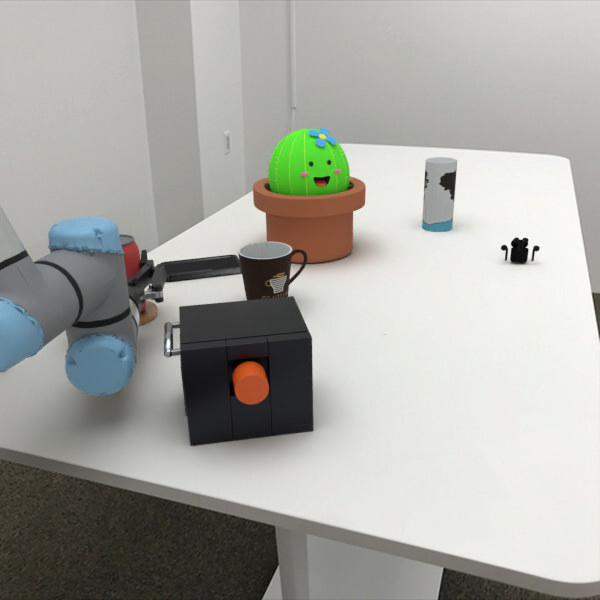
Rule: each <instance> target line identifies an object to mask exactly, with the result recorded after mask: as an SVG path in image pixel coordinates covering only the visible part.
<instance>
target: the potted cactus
mask: <svg viewBox="0 0 600 600" xmlns="http://www.w3.org/2000/svg"><path fill="white" fill-rule="evenodd" d="M315 127H316V126H314V127H313V128H309V127H308V128H307V127H306V125H303V128H302V127H300V128H299V129H297V130H296V129H295V128H294V130H293V131H291V130H289V131H288V133H287V135H286V136H284V137H283V138H282V137H280V139H278V141H279V142H278V143H277V145H276V146H273V152H272V153H271V156H270V160H269V161H268V162H269V163H268V169H267V172H265V174H266V175H265V177H263V178H262V179H259V180H257V181H255V182H254V183H253V185H252V198H253V199H252V200H253V206H254V207H255V208H256V209H257V210H258V211H260V212H262V213H264V214H265V228H266V229H265V230H266V242H280V243H285V244H287V245H289V246H291V247H292V251H293V250H296V249H300V250H303V251H305V252H306V254H307V264H315V263H324V262H331V261H336V260H339V259H342V258H345V257H346V256H348V255H349V254H351V253H352V251H353V248H354V212H356V211H358V210H360V209H362V208H364V206H365V205H366V183H365V182H364V181H362V180H361V179H360V178H357V177H354V176H350V175H351V172H352V170H351V169H350V164H349V161H348V158H347V156H346V153H345V152H346V151H347V149H346V150H344V149H343V148H342V146H341V145H342V144H339V142H338V141H337V139H336V138H335V137H333V136H331V135H330V134H329V133H330V130H328V129H327V128H324V127H319V126H317V127H316V128H315ZM303 262H304V256H303V254H302V253H296V254H294V255H293V256H292V259H291V263H294V264H295V263H296V264H303Z"/></svg>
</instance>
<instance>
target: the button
mask: <svg viewBox="0 0 600 600" xmlns="http://www.w3.org/2000/svg"><path fill="white" fill-rule="evenodd" d="M233 384H234V390H235V394H236V397H237V398H238V399H239V400H240V401H241V402H243V403H245V404H257V403H259V402H261V401H263V400H264V399H265V398H266V396H267V395H268V392H269V384H268V380H267V377H266V373H265V370H264V368H263V367H262V366H261V365H260V364H259V363H257V362H253V361H248V362H244V363H241V364H240V365H238V366H237V367H236V368H235V370H234V372H233Z"/></svg>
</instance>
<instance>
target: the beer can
mask: <svg viewBox="0 0 600 600" xmlns="http://www.w3.org/2000/svg"><path fill="white" fill-rule="evenodd" d="M119 236H120V240H121V245H122V250H123V251H124V261H125V269H126V277H132V276H133V275H134V274H135V273H136V272H138V271H139V270H140V269H141V267H140V261H141V253H140V249H139V246H138V244H137V243H136V241H135V236H133V235H131V234H125V233H124V234H123V233H121V234H120V233H119ZM143 291H144V292H145V291H146V290H145V289H144V290H143ZM145 308H146V300H145V303H144V304H143V305H142V306H141V312H142V311H143V310H144V309H145ZM141 312H140V313H141Z"/></svg>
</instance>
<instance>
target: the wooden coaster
mask: <svg viewBox="0 0 600 600" xmlns="http://www.w3.org/2000/svg"><path fill="white" fill-rule="evenodd" d="M158 313H159V311H158V306H157V303H154V302H153V301H152V300H149V299H148V300H146V308H145V309H144V310H143V311H142V312H141V313H140V320H139V326H142V325H145V324H147V323H149V322H151V321H153V320H154V319H155V318H157V316H158Z"/></svg>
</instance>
